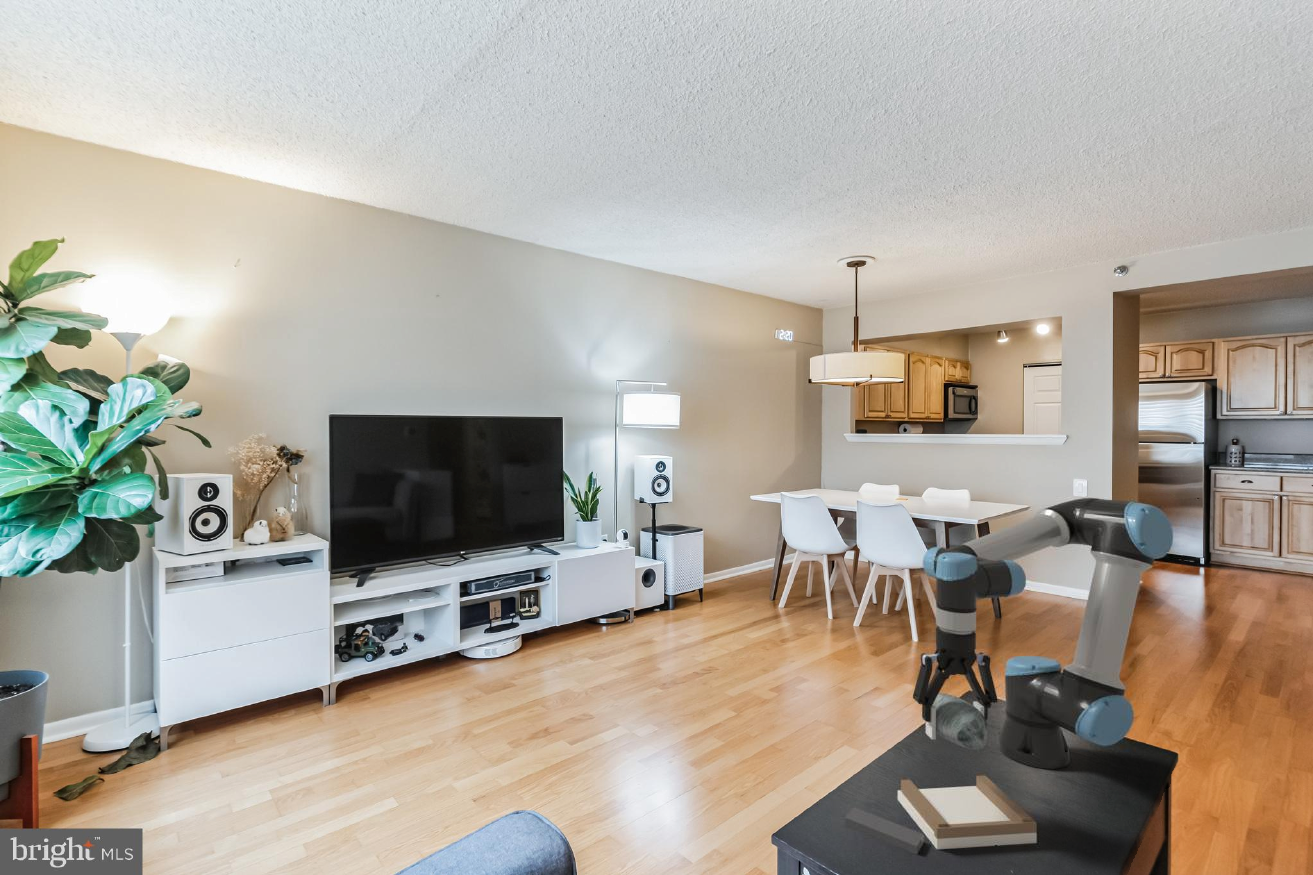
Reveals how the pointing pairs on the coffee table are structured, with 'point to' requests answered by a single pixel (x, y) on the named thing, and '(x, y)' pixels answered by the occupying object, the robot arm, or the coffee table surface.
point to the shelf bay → (967, 815)
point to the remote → (885, 830)
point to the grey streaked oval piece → (960, 722)
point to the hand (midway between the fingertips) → (954, 735)
